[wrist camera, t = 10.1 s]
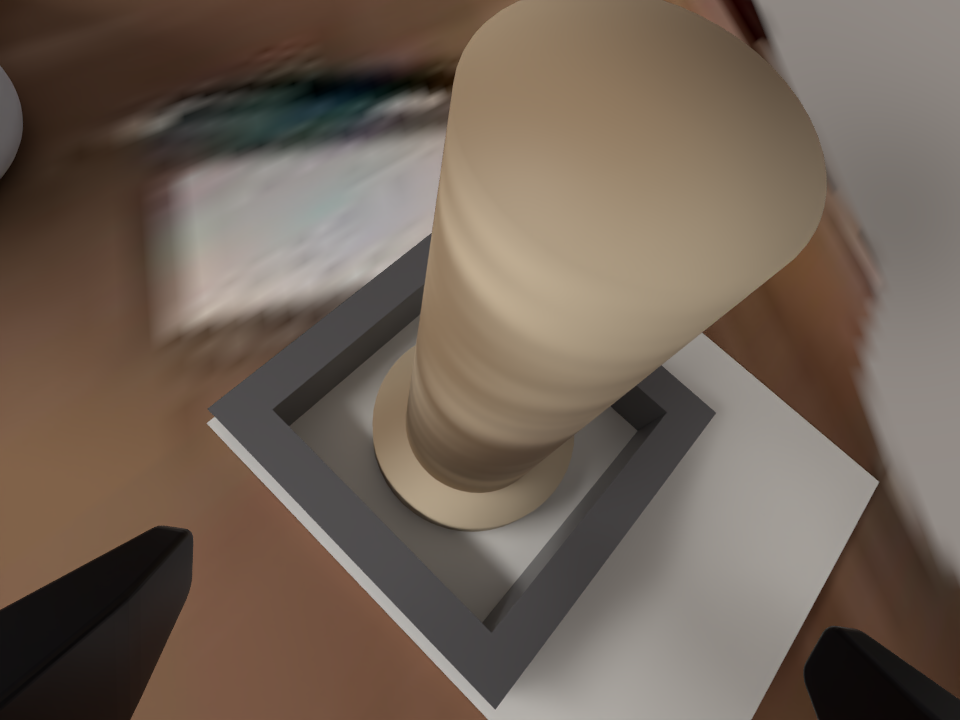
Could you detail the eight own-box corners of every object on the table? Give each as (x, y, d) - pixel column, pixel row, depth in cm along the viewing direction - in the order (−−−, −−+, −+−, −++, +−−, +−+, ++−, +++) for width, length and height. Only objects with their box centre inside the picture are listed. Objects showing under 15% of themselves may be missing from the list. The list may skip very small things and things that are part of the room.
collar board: (865, 484, 21) (933, 469, 18) (646, 884, 15) (700, 945, 12) (513, 186, 23) (529, 136, 21) (212, 428, 18) (183, 401, 15)
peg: (597, 479, 19) (1013, 264, 6) (421, 569, 17) (538, 510, 4) (510, 319, 20) (704, -89, 8) (342, 383, 18) (267, -27, 6)
